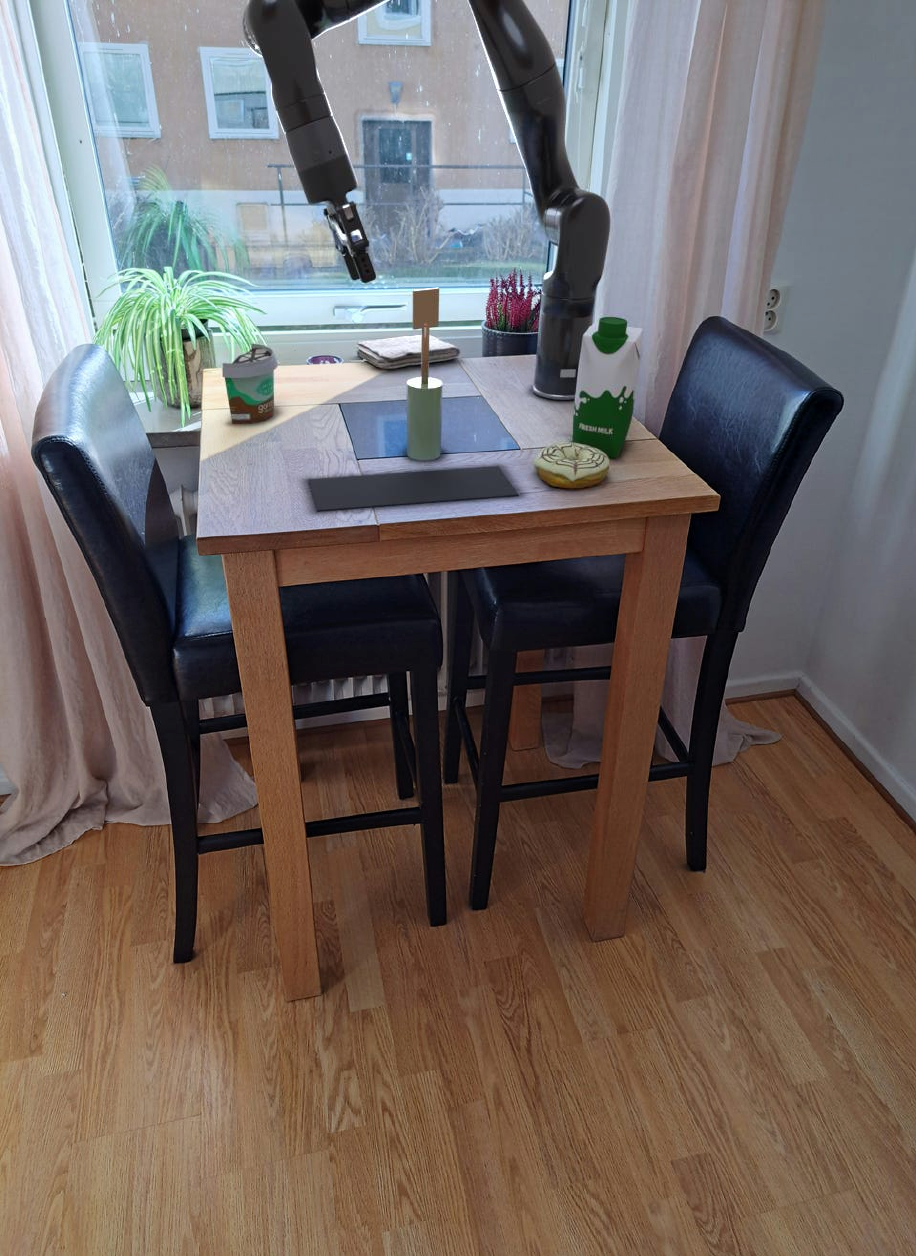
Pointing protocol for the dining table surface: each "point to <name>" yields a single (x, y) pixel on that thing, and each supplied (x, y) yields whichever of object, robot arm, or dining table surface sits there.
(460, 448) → the dining table surface
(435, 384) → the spatula crock
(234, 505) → the dining table surface
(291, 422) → the dining table surface
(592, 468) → the decorated donut
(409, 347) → the washcloth
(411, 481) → the mat
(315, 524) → the dining table surface
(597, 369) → the milk carton
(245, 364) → the food container
